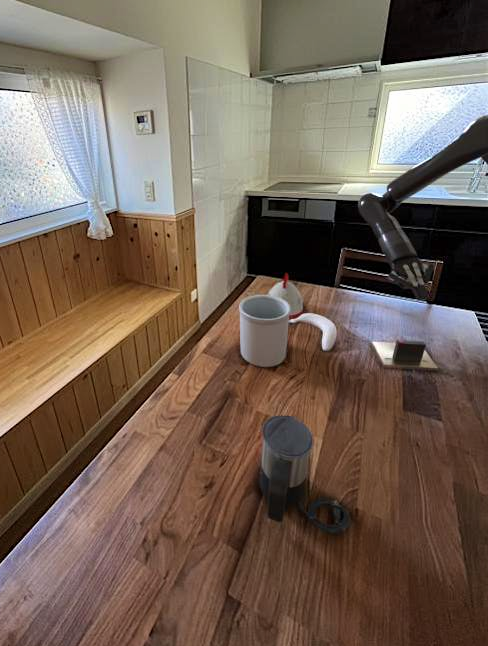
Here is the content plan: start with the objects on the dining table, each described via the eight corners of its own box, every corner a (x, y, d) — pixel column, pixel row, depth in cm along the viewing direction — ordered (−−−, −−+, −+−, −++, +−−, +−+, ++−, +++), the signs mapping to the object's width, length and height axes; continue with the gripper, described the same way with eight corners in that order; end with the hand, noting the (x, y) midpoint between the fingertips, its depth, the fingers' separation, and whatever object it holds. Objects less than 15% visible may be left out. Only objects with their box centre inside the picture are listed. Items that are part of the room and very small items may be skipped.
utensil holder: (228, 355, 106) (228, 307, 99) (256, 334, 115) (258, 289, 108) (268, 377, 96) (271, 326, 89) (295, 353, 105) (300, 304, 98)
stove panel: (418, 349, 104) (420, 343, 103) (441, 380, 92) (443, 374, 91) (370, 346, 107) (371, 340, 106) (385, 376, 94) (387, 370, 93)
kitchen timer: (261, 315, 126) (263, 279, 120) (268, 298, 137) (270, 264, 131) (300, 322, 121) (304, 285, 115) (304, 303, 132) (308, 269, 126)
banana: (341, 354, 104) (292, 351, 106) (329, 323, 121) (287, 320, 124) (343, 341, 102) (293, 338, 104) (330, 311, 119) (288, 309, 122)
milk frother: (256, 463, 73) (259, 413, 66) (332, 468, 71) (342, 417, 65) (262, 537, 60) (267, 484, 54) (355, 546, 58) (371, 491, 52)
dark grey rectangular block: (418, 358, 97) (423, 340, 95) (421, 361, 96) (426, 344, 93) (392, 356, 99) (396, 339, 96) (394, 360, 97) (399, 342, 95)
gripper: (378, 247, 100) (404, 300, 92) (424, 236, 98) (455, 288, 90) (371, 258, 106) (395, 309, 98) (414, 248, 105) (442, 298, 97)
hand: (424, 299), depth 94 cm, fingers closed
